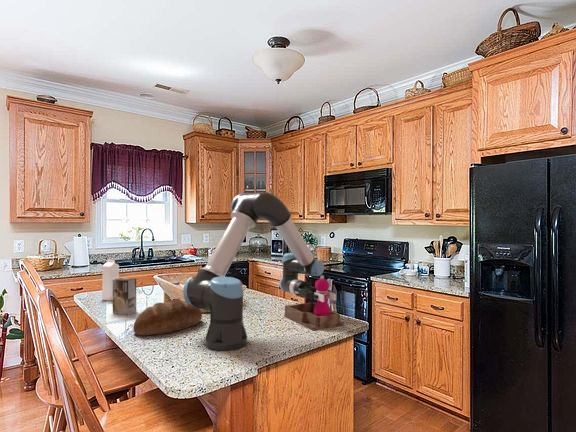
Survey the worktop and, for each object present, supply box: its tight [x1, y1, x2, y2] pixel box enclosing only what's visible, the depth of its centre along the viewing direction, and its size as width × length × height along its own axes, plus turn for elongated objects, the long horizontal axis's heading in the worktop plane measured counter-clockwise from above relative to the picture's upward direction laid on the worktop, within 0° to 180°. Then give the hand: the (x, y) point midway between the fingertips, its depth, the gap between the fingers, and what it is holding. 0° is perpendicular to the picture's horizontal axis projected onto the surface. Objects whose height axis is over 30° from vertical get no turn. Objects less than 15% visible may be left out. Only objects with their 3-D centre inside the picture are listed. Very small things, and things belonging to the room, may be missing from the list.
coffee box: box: [112, 277, 137, 315], centre depth 176 cm, size 9×6×16 cm
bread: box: [132, 298, 203, 337], centre depth 153 cm, size 16×29×11 cm, turn 139°
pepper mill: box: [314, 274, 331, 316], centre depth 157 cm, size 7×7×20 cm
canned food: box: [163, 280, 181, 303], centre depth 192 cm, size 8×8×12 cm
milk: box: [101, 259, 120, 301], centre depth 205 cm, size 6×6×22 cm
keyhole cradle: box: [283, 301, 345, 331], centre depth 163 cm, size 16×24×5 cm, turn 29°
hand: (329, 297), depth 153 cm, fingers open, 5 cm apart
